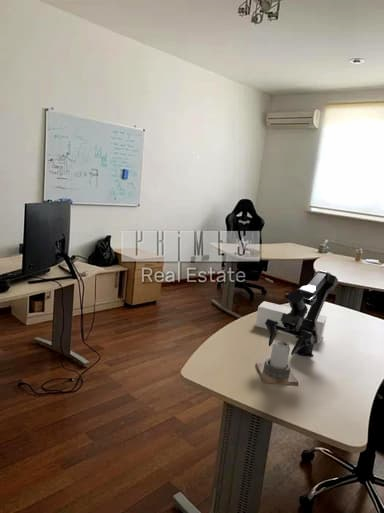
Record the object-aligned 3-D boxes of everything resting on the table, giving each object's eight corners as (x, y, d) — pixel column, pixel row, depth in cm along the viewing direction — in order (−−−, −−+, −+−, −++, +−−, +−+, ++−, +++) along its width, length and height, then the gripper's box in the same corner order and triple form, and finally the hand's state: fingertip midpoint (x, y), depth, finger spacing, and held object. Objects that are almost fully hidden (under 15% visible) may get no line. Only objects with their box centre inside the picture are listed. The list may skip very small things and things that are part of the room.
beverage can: (288, 376, 146) (293, 347, 143) (273, 376, 144) (278, 347, 141) (280, 367, 152) (285, 339, 149) (265, 368, 150) (270, 339, 147)
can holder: (286, 367, 155) (288, 356, 154) (298, 384, 142) (300, 373, 141) (255, 365, 153) (257, 354, 152) (264, 382, 141) (265, 371, 140)
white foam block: (322, 336, 192) (326, 316, 189) (319, 344, 182) (323, 322, 180) (260, 320, 205) (263, 301, 202) (255, 326, 195) (258, 306, 193)
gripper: (270, 298, 151) (253, 332, 145) (316, 313, 141) (300, 349, 134) (276, 313, 159) (260, 345, 153) (320, 327, 149) (304, 362, 142)
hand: (280, 350), depth 145 cm, fingers open, 9 cm apart
